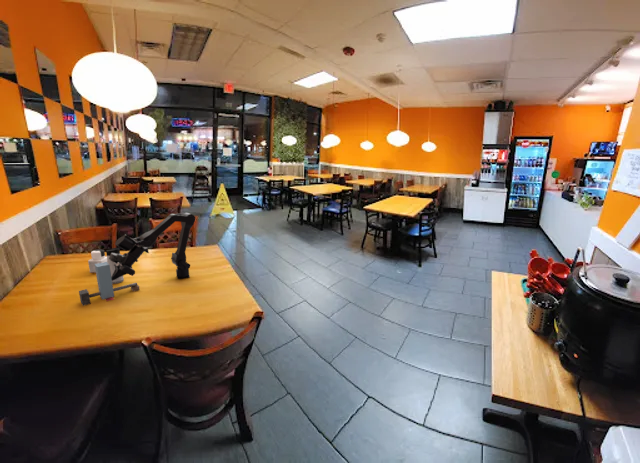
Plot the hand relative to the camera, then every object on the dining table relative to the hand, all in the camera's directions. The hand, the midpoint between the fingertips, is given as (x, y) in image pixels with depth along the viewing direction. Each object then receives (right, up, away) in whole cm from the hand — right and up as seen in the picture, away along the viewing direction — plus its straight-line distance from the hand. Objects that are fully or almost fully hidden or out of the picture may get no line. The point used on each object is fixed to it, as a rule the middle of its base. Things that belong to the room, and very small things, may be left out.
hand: (111, 280), depth 147 cm
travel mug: (-9, -4, +18) cm, 20 cm away
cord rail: (-1, -8, +2) cm, 9 cm away
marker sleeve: (-2, -9, 0) cm, 9 cm away
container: (-29, +1, +31) cm, 43 cm away
